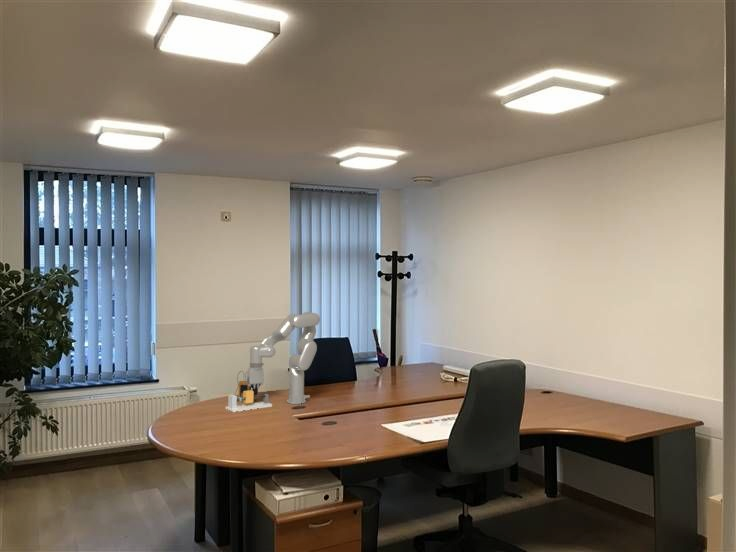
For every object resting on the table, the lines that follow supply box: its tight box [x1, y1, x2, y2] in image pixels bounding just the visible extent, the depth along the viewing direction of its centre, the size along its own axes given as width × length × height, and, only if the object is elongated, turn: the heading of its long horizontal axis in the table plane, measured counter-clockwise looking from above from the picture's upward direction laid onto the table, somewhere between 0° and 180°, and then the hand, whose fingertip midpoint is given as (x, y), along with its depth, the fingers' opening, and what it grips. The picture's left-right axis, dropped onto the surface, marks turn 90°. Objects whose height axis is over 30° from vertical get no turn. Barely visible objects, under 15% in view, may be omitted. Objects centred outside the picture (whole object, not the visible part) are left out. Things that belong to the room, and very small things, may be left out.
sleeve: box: [242, 389, 254, 404], centre depth 364 cm, size 5×4×7 cm
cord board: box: [225, 393, 273, 413], centre depth 364 cm, size 27×10×9 cm, turn 130°
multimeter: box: [234, 370, 256, 402], centre depth 386 cm, size 15×10×20 cm
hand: (254, 394), depth 367 cm, fingers closed
